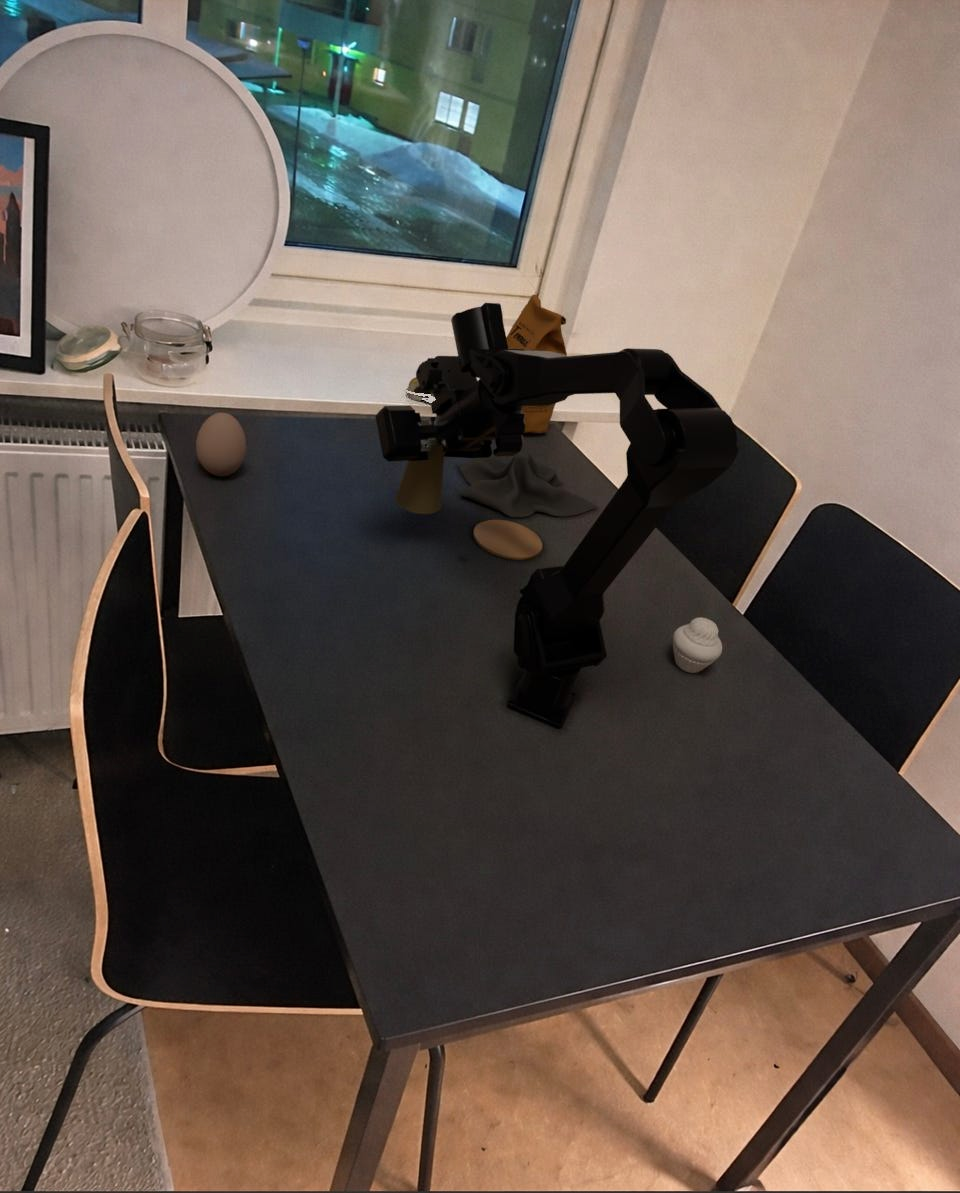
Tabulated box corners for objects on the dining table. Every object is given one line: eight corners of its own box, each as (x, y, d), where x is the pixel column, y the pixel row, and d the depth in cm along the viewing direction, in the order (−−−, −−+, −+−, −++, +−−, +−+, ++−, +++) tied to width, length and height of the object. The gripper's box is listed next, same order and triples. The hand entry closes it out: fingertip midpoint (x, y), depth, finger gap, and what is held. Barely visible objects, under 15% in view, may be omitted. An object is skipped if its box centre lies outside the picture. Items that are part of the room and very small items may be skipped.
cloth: (465, 513, 133) (473, 476, 129) (446, 455, 147) (454, 420, 144) (606, 528, 138) (617, 492, 135) (574, 470, 153) (584, 437, 150)
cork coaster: (529, 568, 124) (530, 565, 124) (462, 542, 126) (463, 540, 125) (550, 538, 132) (550, 536, 132) (487, 514, 134) (488, 512, 134)
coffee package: (525, 409, 171) (556, 293, 159) (552, 439, 162) (586, 319, 150) (477, 406, 167) (504, 287, 155) (502, 437, 158) (533, 313, 146)
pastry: (418, 381, 171) (422, 362, 169) (452, 392, 170) (456, 373, 168) (403, 397, 163) (406, 377, 161) (438, 408, 163) (442, 388, 160)
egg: (194, 461, 128) (197, 401, 123) (242, 464, 130) (247, 405, 125) (195, 484, 123) (198, 422, 118) (245, 487, 125) (250, 426, 120)
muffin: (682, 684, 109) (702, 638, 105) (654, 652, 114) (672, 607, 110) (721, 677, 112) (742, 633, 108) (692, 647, 116) (711, 603, 113)
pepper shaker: (386, 497, 120) (399, 420, 114) (417, 487, 124) (432, 413, 118) (418, 518, 117) (434, 440, 111) (450, 507, 121) (466, 432, 115)
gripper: (533, 346, 110) (472, 393, 123) (394, 342, 100) (345, 394, 114) (552, 434, 109) (488, 472, 122) (413, 438, 99) (360, 479, 113)
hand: (422, 453), depth 118 cm, fingers closed on pepper shaker, 5 cm apart
